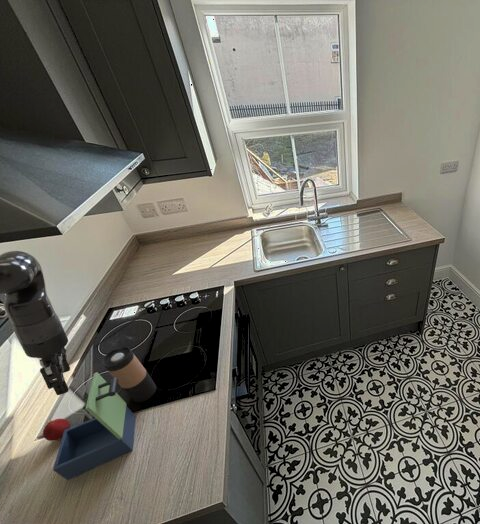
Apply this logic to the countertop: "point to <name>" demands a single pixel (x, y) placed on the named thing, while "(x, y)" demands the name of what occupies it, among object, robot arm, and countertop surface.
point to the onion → (55, 429)
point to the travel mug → (129, 374)
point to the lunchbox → (92, 446)
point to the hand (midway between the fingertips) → (64, 381)
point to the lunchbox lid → (107, 404)
